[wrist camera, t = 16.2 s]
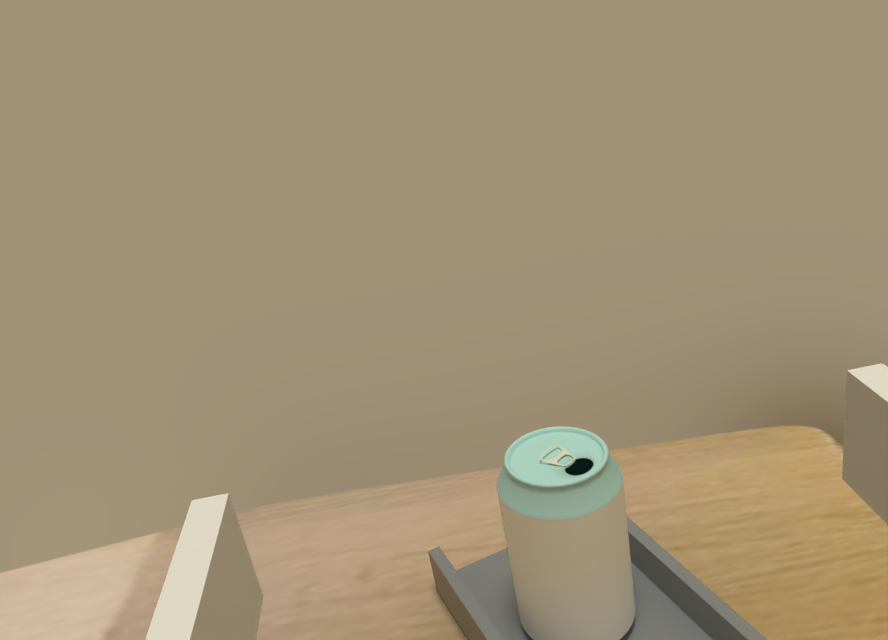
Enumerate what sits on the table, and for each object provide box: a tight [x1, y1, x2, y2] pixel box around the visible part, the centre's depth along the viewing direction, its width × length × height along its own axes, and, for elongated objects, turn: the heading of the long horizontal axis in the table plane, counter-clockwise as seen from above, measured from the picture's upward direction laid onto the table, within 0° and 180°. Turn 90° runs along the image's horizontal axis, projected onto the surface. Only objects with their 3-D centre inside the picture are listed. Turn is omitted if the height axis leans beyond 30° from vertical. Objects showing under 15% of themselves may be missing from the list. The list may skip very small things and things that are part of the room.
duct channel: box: [428, 517, 767, 640], centre depth 46 cm, size 13×20×4 cm, turn 24°
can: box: [497, 426, 635, 640], centre depth 46 cm, size 7×7×12 cm
